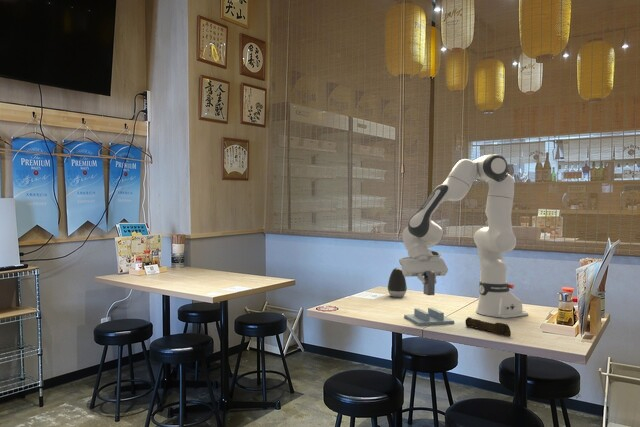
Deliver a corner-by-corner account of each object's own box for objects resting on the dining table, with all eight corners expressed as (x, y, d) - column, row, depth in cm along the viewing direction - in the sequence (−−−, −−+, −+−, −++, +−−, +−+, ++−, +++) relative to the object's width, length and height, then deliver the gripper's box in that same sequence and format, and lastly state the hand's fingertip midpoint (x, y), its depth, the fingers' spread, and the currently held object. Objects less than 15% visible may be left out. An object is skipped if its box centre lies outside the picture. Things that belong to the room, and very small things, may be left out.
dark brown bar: (464, 327, 192) (464, 315, 192) (470, 325, 195) (471, 314, 195) (505, 338, 177) (506, 326, 177) (512, 337, 179) (512, 325, 179)
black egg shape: (404, 294, 258) (404, 266, 258) (408, 298, 248) (409, 269, 248) (385, 294, 258) (385, 266, 257) (389, 298, 247) (390, 269, 247)
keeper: (437, 315, 210) (437, 306, 210) (454, 323, 197) (454, 313, 197) (404, 317, 206) (404, 307, 206) (418, 325, 193) (419, 315, 193)
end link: (429, 293, 203) (430, 270, 203) (434, 295, 200) (435, 271, 199) (423, 293, 203) (424, 270, 202) (427, 295, 199) (428, 271, 199)
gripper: (400, 253, 205) (409, 279, 196) (443, 252, 210) (454, 278, 201) (395, 262, 209) (404, 288, 200) (437, 261, 214) (448, 286, 205)
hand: (429, 283), depth 200 cm, fingers closed on end link, 3 cm apart
